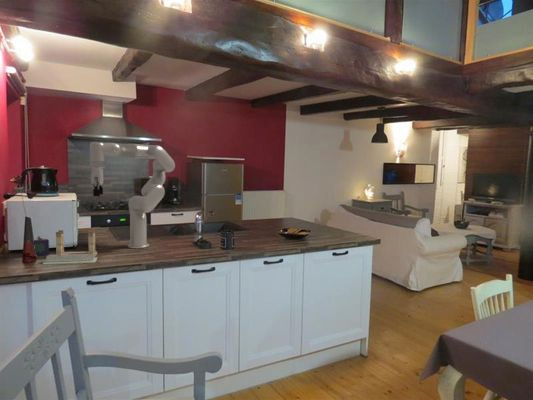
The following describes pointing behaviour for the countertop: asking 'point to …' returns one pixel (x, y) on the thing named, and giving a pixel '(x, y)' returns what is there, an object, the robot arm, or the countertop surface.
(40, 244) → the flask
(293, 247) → the countertop surface
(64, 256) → the rail
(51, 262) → the mat
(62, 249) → the rack
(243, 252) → the countertop surface
